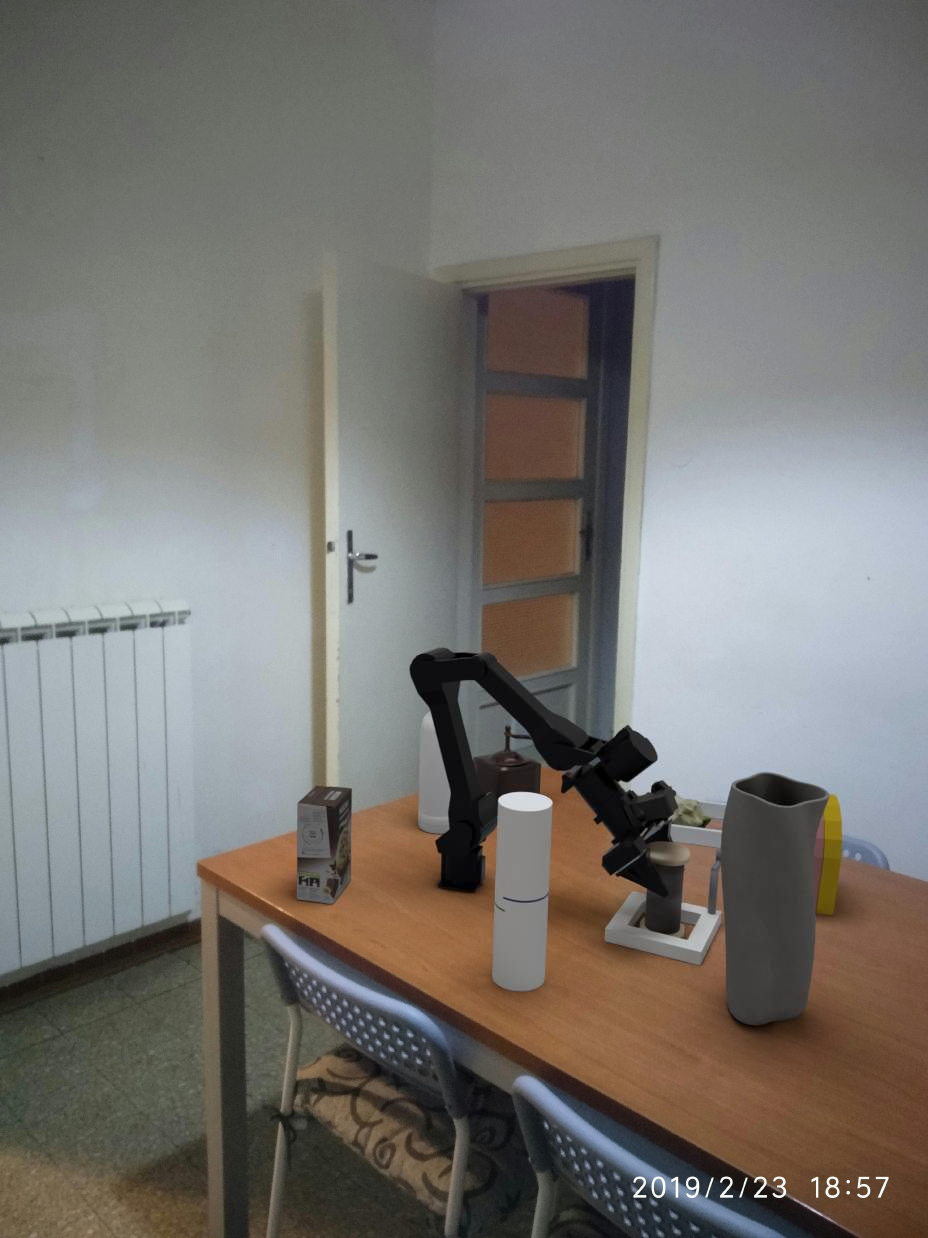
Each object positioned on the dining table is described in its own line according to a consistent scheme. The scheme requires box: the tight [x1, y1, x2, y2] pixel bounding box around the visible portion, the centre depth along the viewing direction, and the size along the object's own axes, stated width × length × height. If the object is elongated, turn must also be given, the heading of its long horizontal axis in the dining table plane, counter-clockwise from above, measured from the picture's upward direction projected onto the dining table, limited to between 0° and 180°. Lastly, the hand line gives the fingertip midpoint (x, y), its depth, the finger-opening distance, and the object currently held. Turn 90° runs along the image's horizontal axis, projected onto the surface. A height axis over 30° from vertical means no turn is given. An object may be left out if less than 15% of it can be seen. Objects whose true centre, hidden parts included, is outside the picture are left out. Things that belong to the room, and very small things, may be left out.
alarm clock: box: [813, 793, 843, 916], centre depth 154 cm, size 15×8×18 cm, turn 168°
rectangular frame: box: [604, 848, 722, 966], centre depth 142 cm, size 14×16×11 cm
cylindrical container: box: [491, 792, 553, 992], centre depth 127 cm, size 7×7×25 cm
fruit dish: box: [670, 797, 727, 849], centre depth 183 cm, size 16×16×3 cm
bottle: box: [417, 710, 450, 835], centre depth 178 cm, size 8×8×30 cm
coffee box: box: [296, 785, 353, 905], centre depth 152 cm, size 9×6×16 cm
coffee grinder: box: [472, 724, 542, 808], centre depth 193 cm, size 16×11×18 cm
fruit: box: [663, 793, 712, 828], centre depth 181 cm, size 9×9×8 cm
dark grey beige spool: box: [639, 841, 691, 939], centre depth 141 cm, size 7×7×13 cm
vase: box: [720, 771, 830, 1026], centre depth 120 cm, size 12×12×30 cm
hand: (674, 883), depth 140 cm, fingers open, 9 cm apart
